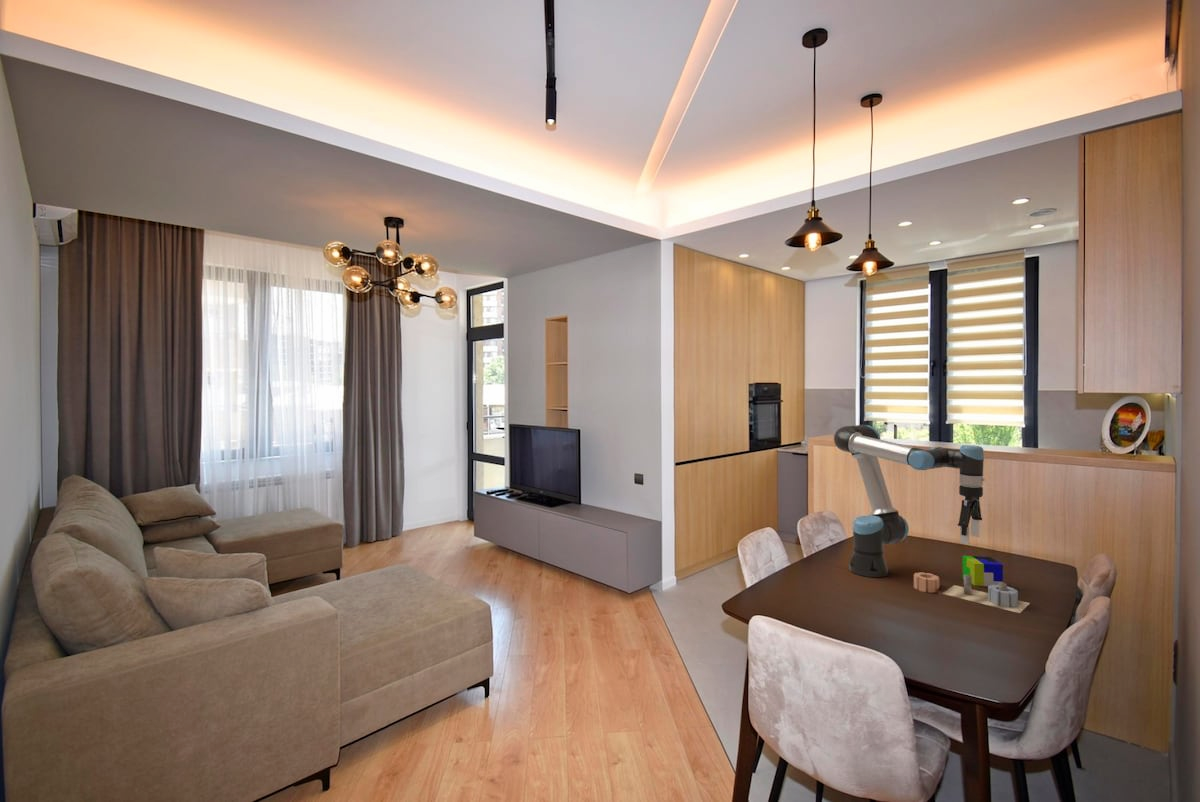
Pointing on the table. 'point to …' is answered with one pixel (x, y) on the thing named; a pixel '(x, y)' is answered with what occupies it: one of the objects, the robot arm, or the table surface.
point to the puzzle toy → (983, 570)
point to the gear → (1003, 596)
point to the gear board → (981, 595)
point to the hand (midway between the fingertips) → (969, 539)
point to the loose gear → (926, 582)
